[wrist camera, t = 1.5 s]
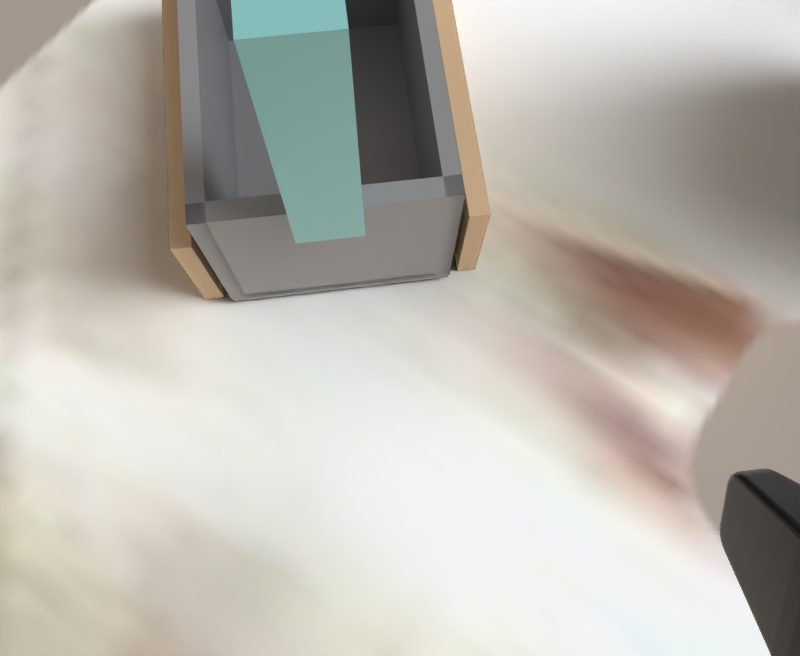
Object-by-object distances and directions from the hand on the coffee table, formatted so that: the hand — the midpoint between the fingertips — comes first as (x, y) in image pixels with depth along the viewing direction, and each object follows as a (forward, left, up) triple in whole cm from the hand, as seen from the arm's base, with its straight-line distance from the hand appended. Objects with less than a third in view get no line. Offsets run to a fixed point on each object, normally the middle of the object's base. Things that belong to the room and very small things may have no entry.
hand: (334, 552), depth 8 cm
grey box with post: (+11, +9, -14) cm, 20 cm away
